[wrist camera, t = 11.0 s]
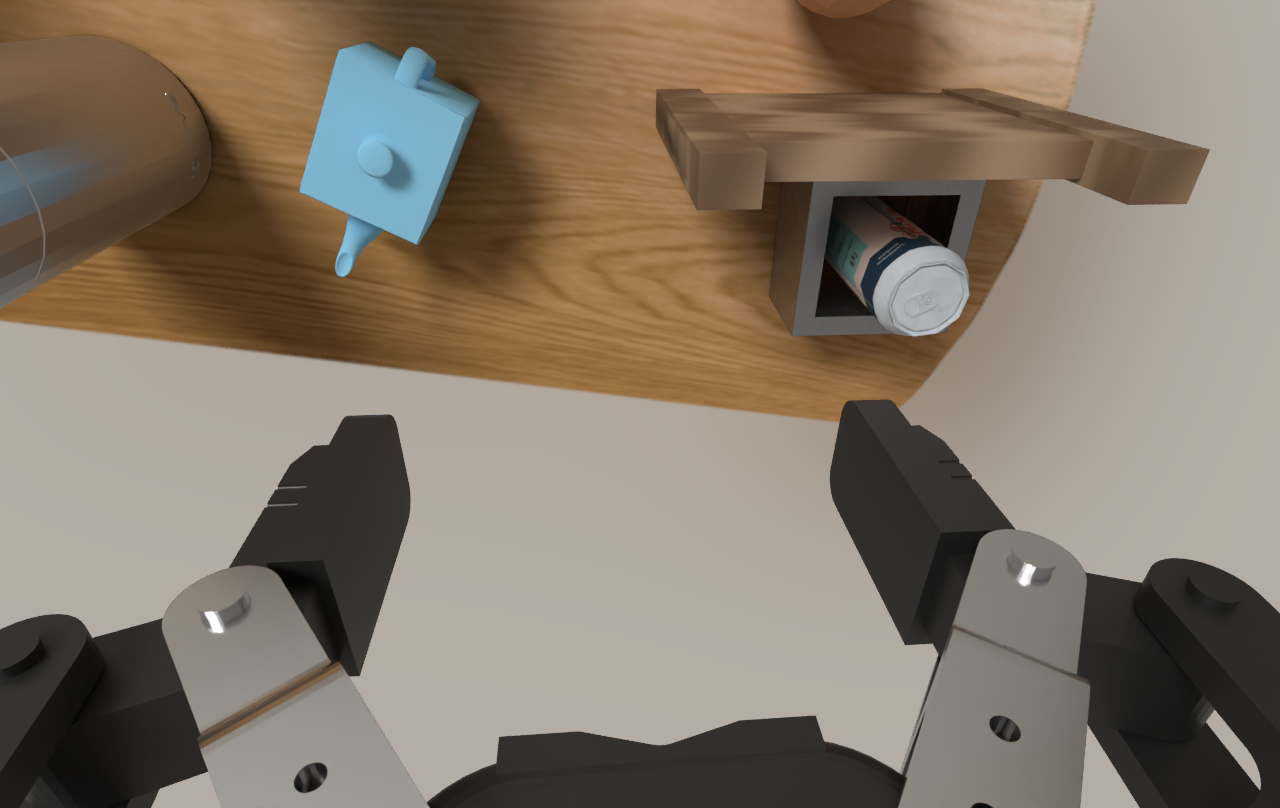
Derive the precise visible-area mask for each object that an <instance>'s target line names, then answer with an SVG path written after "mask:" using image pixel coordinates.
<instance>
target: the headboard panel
mask: <svg viewBox="0 0 1280 808" xmlns="http://www.w3.org/2000/svg"><path fill="white" fill-rule="evenodd" d="M656 128H657V130H658V132H659V134H660V136H661V138H662V140H663V142H664V144H665V146H666V148H667V150H668V152H669V154H670V156H671V158H672V160H673V162H674V164H675V166H676V169H677V171H678V173H679V175H680V177H681V179H682V181H683V183H684V185H685V187H686V189H687V191H688V193H689V195H690V197H691V199H692V201H693V203H694V205H695V207H696V209H697V210H740V209H761V208H762V198H763V188H764V182H811V181H913V180H1015V179H1066V180H1068V181H1071V182H1074V183H1076V184H1078V185H1081V186H1083V187H1086V188H1088V189H1090V190H1093V191H1095V192H1098V193H1100V194H1103V195H1105V196H1107V197H1110V198H1112V199H1115V200H1117V201H1120V202H1122V203H1125V204H1127V205H1142V204H1143V205H1144V204H1187V202H1188V200H1189V197H1190V195H1191V193H1192V190H1193V188H1194V186H1195V183H1196V181H1197V179H1198V176H1199V174H1200V172H1201V169H1202V167H1203V165H1204V162H1205V160H1206V158H1207V155H1208V153H1209V151H1210V150H1209V149H1206V148H1202V147H1198V146H1195V145H1191V144H1187V143H1183V142H1179V141H1176V140H1172V139H1168V138H1165V137H1160V136H1157V135H1153V134H1150V133H1146V132H1142V131H1139V130H1135V129H1131V128H1127V127H1123V126H1120V125H1116V124H1112V123H1108V122H1105V121H1101V120H1098V119H1094V118H1090V117H1086V116H1083V115H1078V114H1075V113H1071V112H1068V111H1064V110H1060V109H1057V108H1053V107H1049V106H1045V105H1042V104H1038V103H1034V102H1030V101H1027V100H1023V99H1019V98H1015V97H1012V96H1008V95H1004V94H1001V93H997V92H993V91H989V90H986V89H942V93H873V94H704V93H703V92H702V91H701V90H699V89H657V94H656Z"/></svg>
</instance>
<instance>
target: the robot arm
mask: <svg viewBox="0 0 1280 808" xmlns="http://www.w3.org/2000/svg"><path fill="white" fill-rule="evenodd" d="M211 162H212V147H211V142H210V137H209V132H208V128H207V126H206V123H205V121H204V118H203V116H202V114H201V111H200V109H199V108H198V106H197V105H196V103H195V101H194V100H193V98H192V97H191V95H190V93H189V92H188V91H187V90H186V88H185V87H184V86H183V85H182V84H181V83H180V82H179V80H178V79H177V78H176V77H175V76H174V75H173V74H172V73H171V72H170V71H168V70H167V69H166V68H165V67H164V66H163V65H161V64H160V63H159V62H158V61H157V60H155V59H154V58H152V57H150V56H149V55H147V54H145V53H144V52H142V51H141V50H139V49H137V48H135V47H133V46H130V45H128V44H125V43H123V42H120V41H118V40H115V39H110V38H106V37H101V36H96V35H78V36H66V37H57V38H47V39H38V40H25V41H15V42H6V43H0V308H2V307H4V306H5V305H7V304H9V303H11V302H12V301H14V300H15V299H17V298H19V297H21V296H23V295H24V294H26V293H28V292H30V291H31V290H33V289H35V288H37V287H39V286H40V285H42V284H44V283H46V282H48V281H49V280H51V279H53V278H55V277H57V276H58V275H60V274H62V273H64V272H66V271H67V270H69V269H71V268H73V267H74V266H76V265H78V264H80V263H82V262H83V261H85V260H87V259H89V258H91V257H92V256H94V255H96V254H98V253H100V252H101V251H103V250H105V249H107V248H109V247H110V246H112V245H114V244H116V243H118V242H119V241H121V240H123V239H125V238H126V237H128V236H130V235H132V234H134V233H135V232H137V231H139V230H141V229H143V228H144V227H147V226H148V225H150V224H152V223H154V222H155V221H157V220H159V219H161V218H163V217H164V216H166V215H168V214H170V213H171V212H173V211H175V210H177V209H179V208H180V207H182V206H184V205H186V204H187V203H189V202H190V201H191V200H192V199H193V198H195V197H196V196H197V195H198V194H199V193H200V191H201V190H202V188H203V186H204V185H205V183H206V181H207V179H208V176H209V172H210V168H211ZM830 487H831V494H832V498H833V501H834V503H835V506H836V507H837V509H838V512H839V513H840V516H841V518H842V519H843V521H844V524H845V526H846V527H847V529H848V531H849V534H850V535H851V537H852V540H853V542H854V544H855V545H856V548H857V549H858V551H859V554H860V555H861V557H862V560H863V562H864V564H865V566H866V567H867V569H868V572H869V574H870V575H871V578H872V580H873V582H874V584H875V586H876V588H877V590H878V592H879V594H880V596H881V598H882V600H883V601H884V604H885V605H886V608H887V610H888V611H889V614H890V616H891V617H892V619H893V621H894V623H895V626H896V628H897V630H898V631H899V634H900V636H901V637H902V639H903V642H904V644H905V645H915V644H932V643H933V645H934V647H935V649H936V650H937V652H938V657H937V660H936V662H935V665H934V668H933V671H932V674H931V677H930V680H929V684H928V687H927V690H926V693H925V696H924V699H923V702H922V705H921V708H920V712H919V715H918V718H917V721H916V724H915V727H914V730H913V734H912V736H911V740H910V743H909V746H908V749H907V752H906V755H905V758H904V761H903V764H902V767H901V770H900V773H898V772H896V771H895V770H894V769H892V768H891V767H889V766H887V765H885V764H883V763H882V762H880V761H878V760H876V759H874V758H872V757H870V756H868V755H866V754H863V753H861V752H859V751H856V750H854V749H850V748H848V747H844V746H841V745H838V744H834V743H829V742H825V741H824V740H823V737H822V734H821V731H820V728H819V725H818V722H817V719H816V716H801V717H787V718H772V719H758V720H742V721H737V722H734V723H731V724H728V725H725V726H722V727H719V728H716V729H714V730H710V731H707V732H705V733H702V734H698V735H696V736H693V737H690V738H687V739H684V740H681V741H678V742H675V743H672V744H668V745H660V746H659V745H651V744H645V743H640V742H634V741H629V740H623V739H617V738H612V737H606V736H601V735H595V734H590V733H584V732H565V733H550V734H536V735H521V736H505V737H499V744H498V754H497V764H494V765H491V766H488V767H485V768H482V769H480V770H478V771H476V772H474V773H472V774H469V775H467V776H465V777H463V778H461V779H460V780H458V781H456V782H455V783H453V784H451V785H450V786H448V787H447V788H445V789H444V790H442V791H441V792H440V793H438V794H437V795H436V796H434V797H433V798H432V799H430V800H429V801H428V802H427V803H426V801H425V800H424V798H423V796H422V795H421V793H420V791H419V790H418V788H417V787H416V785H415V783H414V782H413V780H412V778H411V777H410V775H409V774H408V772H407V770H406V769H405V767H404V765H403V764H402V762H401V760H400V759H399V757H398V756H397V754H396V752H395V751H394V749H393V748H392V746H391V744H390V743H389V741H388V739H387V738H386V736H385V734H384V733H383V731H382V730H381V728H380V726H379V725H378V723H377V721H376V720H375V718H374V717H373V715H372V714H371V712H370V710H369V708H368V707H367V705H366V704H365V702H364V700H363V699H362V697H361V695H360V694H359V692H358V691H357V689H356V687H355V686H354V684H353V682H352V681H351V679H350V678H349V676H360V673H361V670H362V667H363V664H364V660H365V657H366V654H367V651H368V647H369V644H370V641H371V638H372V634H373V632H374V628H375V625H376V622H377V619H378V615H379V612H380V609H381V606H382V603H383V600H384V596H385V593H386V590H387V587H388V583H389V580H390V577H391V574H392V571H393V568H394V564H395V561H396V558H397V555H398V552H399V549H400V545H401V542H402V539H403V536H404V532H405V529H406V526H407V523H408V519H409V514H410V488H409V482H408V477H407V473H406V468H405V463H404V458H403V453H402V448H401V443H400V439H399V434H398V429H397V425H396V422H395V420H394V417H393V416H392V415H363V416H346V417H345V418H344V419H343V420H342V422H341V424H340V426H339V427H338V429H337V431H336V433H335V435H334V437H333V439H332V440H331V442H330V444H329V445H321V446H313V447H312V448H311V449H309V450H308V451H307V452H306V453H304V454H303V455H302V456H300V457H299V458H298V459H297V460H295V461H294V462H293V463H292V464H291V465H290V466H289V468H288V469H287V471H286V473H285V475H284V476H283V478H282V480H281V481H280V483H279V485H278V490H275V491H274V493H273V495H272V496H271V498H270V500H269V501H268V507H267V508H264V510H263V511H262V514H261V515H260V517H259V518H258V520H257V522H256V523H255V525H254V527H253V528H252V530H251V532H250V533H249V535H248V537H247V538H246V540H245V542H244V543H243V545H242V547H241V548H240V550H239V552H238V553H237V555H236V557H235V559H234V560H233V562H232V564H231V565H230V567H229V568H228V569H224V570H221V571H218V572H215V573H213V574H210V575H208V576H206V577H204V578H202V579H200V580H198V581H197V582H195V583H194V584H192V585H190V586H189V587H188V588H186V589H185V590H184V591H182V592H181V593H180V594H179V595H178V596H177V597H176V598H175V599H174V600H173V602H172V603H171V604H170V605H169V607H168V609H167V610H166V612H165V614H164V617H163V618H162V619H158V620H155V621H152V622H149V623H145V624H142V625H138V626H134V627H130V628H127V629H123V630H120V631H117V632H113V633H109V634H105V635H102V636H98V637H95V638H92V637H91V635H90V633H89V632H88V630H87V628H86V627H85V625H84V624H83V623H82V622H81V621H80V620H79V619H77V618H76V617H72V616H69V615H61V614H56V615H55V614H53V615H44V616H38V617H34V618H30V619H26V620H23V621H20V622H17V623H14V624H12V625H10V626H7V627H5V628H2V629H1V630H0V808H151V806H152V804H153V802H154V800H155V798H156V796H157V793H158V791H159V789H160V788H163V787H166V786H169V785H172V784H174V783H177V782H180V781H183V780H186V779H188V778H191V777H194V776H197V775H200V774H203V773H205V772H209V775H210V777H211V780H212V783H213V786H214V788H215V791H216V794H217V797H218V799H219V802H220V805H221V808H1080V802H1081V792H1082V780H1083V769H1084V757H1085V745H1086V734H1087V724H1088V726H1089V727H1090V729H1091V731H1092V732H1093V734H1094V735H1095V737H1096V738H1097V740H1098V742H1099V743H1100V745H1101V747H1102V748H1103V750H1104V751H1105V753H1106V754H1107V756H1108V758H1109V759H1110V761H1111V762H1112V764H1113V766H1114V767H1115V769H1116V770H1117V772H1118V774H1119V775H1120V777H1121V778H1122V780H1123V782H1124V783H1125V785H1126V786H1127V788H1128V790H1129V791H1130V793H1131V794H1132V796H1133V798H1134V799H1135V801H1136V802H1137V804H1138V806H1139V807H1140V808H1280V613H1279V612H1278V611H1277V610H1276V609H1275V608H1274V607H1273V606H1272V605H1271V604H1270V603H1269V602H1267V601H1266V600H1265V599H1264V598H1263V597H1262V596H1261V595H1260V594H1259V593H1258V592H1257V591H1255V590H1254V589H1253V588H1252V587H1250V586H1249V585H1248V584H1246V583H1245V582H1243V581H1242V580H1240V579H1238V578H1237V577H1235V576H1233V575H1231V574H1229V573H1227V572H1225V571H1223V570H1221V569H1218V568H1216V567H1214V566H1211V565H1208V564H1205V563H1202V562H1198V561H1194V560H1188V559H1177V558H1171V559H1164V560H1160V561H1158V562H1156V563H1155V564H1153V565H1152V566H1151V568H1150V570H1149V572H1148V573H1147V575H1146V577H1145V579H1144V581H1143V582H1142V583H1140V582H1134V581H1129V580H1123V579H1118V578H1112V577H1106V576H1101V575H1095V574H1090V573H1086V572H1085V571H1084V569H1083V567H1082V566H1081V564H1080V563H1079V562H1078V561H1077V559H1076V558H1075V557H1074V556H1073V555H1072V554H1071V553H1070V552H1068V551H1067V550H1065V549H1064V548H1063V547H1061V546H1060V545H1058V544H1056V543H1055V542H1053V541H1051V540H1049V539H1047V538H1045V537H1042V536H1039V535H1037V534H1034V533H1030V532H1026V531H1021V530H1016V529H1015V528H1014V527H1013V526H1012V524H1011V523H1010V522H1009V521H1008V519H1007V518H1006V517H1005V516H1004V515H1003V513H1002V512H1001V511H1000V510H999V508H998V507H997V506H996V505H995V503H994V502H993V501H992V500H991V498H990V497H989V496H988V495H987V494H986V492H985V491H984V490H983V489H982V487H981V486H980V485H979V484H978V482H977V481H976V480H975V479H974V480H973V479H972V475H971V474H970V472H969V471H968V470H967V469H966V468H965V466H964V465H963V464H960V463H959V459H958V458H957V456H956V455H955V454H954V453H953V451H952V450H951V449H950V448H949V447H948V445H947V444H946V443H945V442H944V441H943V440H941V439H940V438H938V437H937V436H935V435H934V434H932V433H931V432H929V431H928V430H926V429H924V428H923V427H922V426H920V425H917V426H911V425H910V423H909V422H908V421H907V419H906V418H905V417H904V415H903V414H902V413H901V412H900V410H899V409H898V408H897V406H896V405H895V404H894V403H893V401H891V400H857V401H848V402H846V404H845V405H844V407H843V410H842V414H841V418H840V424H839V429H838V434H837V439H836V444H835V449H834V455H833V459H832V465H831V470H830ZM1214 710H1216V711H1217V713H1218V714H1219V715H1220V716H1221V717H1222V719H1223V720H1224V721H1225V722H1226V724H1227V725H1228V726H1229V727H1230V728H1231V730H1232V731H1233V732H1234V733H1235V735H1236V736H1237V737H1238V738H1239V740H1240V741H1241V742H1242V743H1243V744H1244V746H1245V747H1246V748H1247V749H1248V751H1249V752H1250V753H1251V755H1252V757H1253V758H1254V760H1255V762H1256V764H1257V767H1258V770H1259V773H1260V778H1261V790H1259V789H1258V788H1257V786H1256V785H1255V784H1254V783H1253V781H1252V780H1251V779H1250V778H1249V776H1248V775H1247V774H1246V772H1245V771H1244V770H1243V769H1242V767H1241V766H1240V765H1239V764H1238V762H1237V761H1236V760H1235V759H1234V757H1233V756H1232V755H1231V753H1230V752H1229V751H1228V750H1227V749H1226V747H1225V746H1224V745H1223V743H1222V742H1221V741H1220V740H1219V738H1218V737H1217V736H1216V734H1215V733H1214V732H1213V731H1212V729H1211V728H1210V727H1209V726H1208V724H1207V723H1206V721H1207V719H1208V718H1209V717H1210V715H1211V714H1212V713H1213V711H1214Z"/></svg>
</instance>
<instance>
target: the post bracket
mask: <svg viewBox="0 0 1280 808" xmlns="http://www.w3.org/2000/svg"><path fill="white" fill-rule="evenodd" d="M985 184H986V180H913V181H811V182H782V187H781V196H780V205H779V214H778V222H777V231H776V240H775V249H774V258H773V266H772V275H771V284H770V293H769V297H770V299H771V301H772V303H773V304H774V306H775V308H776V309H777V311H778V313H779V314H780V316H781V318H782V320H783V321H784V323H785V325H786V326H787V328H788V330H789V332H790V333H791V335H792V336H820V335H861V334H895V333H893V332H891V331H889V330H887V329H886V328H885V327H884V326H883V325H882V324H881V323H880V322H879V321H878V320H877V319H876V318H875V317H874V315H873V314H872V313H871V312H870V311H869V310H868V309H867V307H866V306H865V305H864V304H863V303H862V302H861V300H860V299H859V298H858V297H857V296H856V295H855V294H854V292H853V291H852V290H851V289H850V288H849V287H848V285H847V284H846V283H845V282H844V281H843V280H842V279H841V278H831V279H821V275H822V268H823V262H824V255H825V249H826V242H827V236H828V229H829V223H830V216H831V210H832V204H833V197H834V196H909V195H910V196H909V201H908V205H907V210H906V215H905V218H906V219H908V220H909V221H910V222H912V223H913V224H914V225H916V226H917V227H918V228H920V229H921V230H922V231H924V232H925V233H927V234H928V235H929V236H931V237H932V238H933V239H935V240H936V241H937V242H939V243H940V244H942V245H943V246H944V247H946V248H947V249H949V250H951V251H953V252H955V253H956V254H958V255H959V256H960V258H961V259H962V260H963V262H965V259H966V255H967V251H968V247H969V244H970V240H971V236H972V232H973V229H974V225H975V221H976V218H977V214H978V210H979V206H980V203H981V199H982V195H983V191H984V188H985ZM946 330H947V327H946V328H944V329H943V330H941V331H940V332H939V333H943V332H946Z"/></svg>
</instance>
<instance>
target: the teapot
mask: <svg viewBox="0 0 1280 808" xmlns="http://www.w3.org/2000/svg"><path fill="white" fill-rule="evenodd" d="M435 70H436V62H435V60H434V59H433V58H432V57H431V56H429V55H428V54H427V53H426V52H425V51H423V50H422V49H419V48H416V47H410V48H408V49H407V51H406V52H405V54H404V56H403V58H401V57H399V56H397V55H395V54H393V53H391V52H389V51H388V50H386V49H384V48H382V47H380V46H378V45H376V44H374V43H372V42H366V43H363V44H359V45H355V46H352V47H348V48H345V49H341V50H339V51H338V55H337V58H336V62H335V65H334V69H333V73H332V76H331V80H330V83H329V87H328V90H327V94H326V97H325V101H324V104H323V108H322V112H321V115H320V119H319V122H318V126H317V129H316V133H315V136H314V140H313V143H312V147H311V151H310V154H309V158H308V161H307V165H306V168H305V172H304V175H303V179H302V182H301V186H300V190H299V192H301V193H303V194H305V195H307V196H310V197H312V198H314V199H316V200H318V201H321V202H323V203H325V204H327V205H330V206H332V207H334V208H336V209H338V210H341V211H343V212H345V213H347V214H349V216H348V221H347V227H346V232H345V236H344V240H343V243H342V246H341V249H340V251H339V254H338V256H337V259H336V265H335V269H336V274H337V275H338V276H339V277H345V276H346V275H347V274H348V273H349V272H350V271H351V269H352V268H353V266H354V263H355V261H356V259H357V257H358V256H359V254H360V253H361V251H362V250H363V249H364V248H365V247H366V246H367V245H368V244H369V243H370V242H371V241H372V240H374V239H375V238H376V237H377V236H378V235H380V234H381V233H382V232H383V231H384V230H385V231H387V232H390V233H392V234H394V235H396V236H398V237H401V238H403V239H405V240H407V241H409V242H412V243H414V244H416V245H418V244H419V242H420V241H421V239H422V238H423V236H424V234H425V233H426V231H427V230H428V228H429V226H430V225H431V223H432V222H433V220H434V219H435V217H436V215H437V213H438V210H439V207H440V205H441V202H442V200H443V197H444V195H445V192H446V189H447V187H448V184H449V182H450V179H451V176H452V174H453V171H454V169H455V166H456V164H457V161H458V158H459V156H460V153H461V151H462V148H463V145H464V143H465V140H466V138H467V135H468V132H469V130H470V127H471V125H472V122H473V119H474V117H475V114H476V111H477V109H478V106H479V104H480V101H481V100H480V99H478V98H476V97H474V96H472V95H470V94H468V93H467V92H465V91H463V90H461V89H459V88H457V87H455V86H453V85H451V84H450V83H448V82H446V81H444V80H442V79H440V78H438V77H436V76H435V75H434V74H435Z"/></svg>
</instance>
